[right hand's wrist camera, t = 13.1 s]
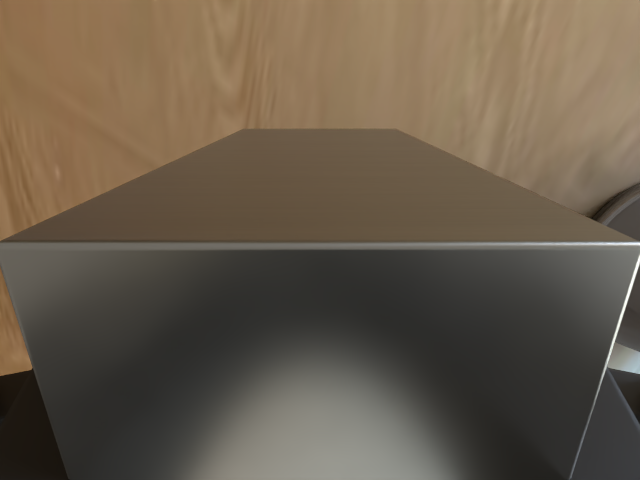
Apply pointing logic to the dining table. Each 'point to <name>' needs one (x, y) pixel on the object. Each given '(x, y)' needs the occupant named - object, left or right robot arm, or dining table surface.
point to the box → (319, 316)
